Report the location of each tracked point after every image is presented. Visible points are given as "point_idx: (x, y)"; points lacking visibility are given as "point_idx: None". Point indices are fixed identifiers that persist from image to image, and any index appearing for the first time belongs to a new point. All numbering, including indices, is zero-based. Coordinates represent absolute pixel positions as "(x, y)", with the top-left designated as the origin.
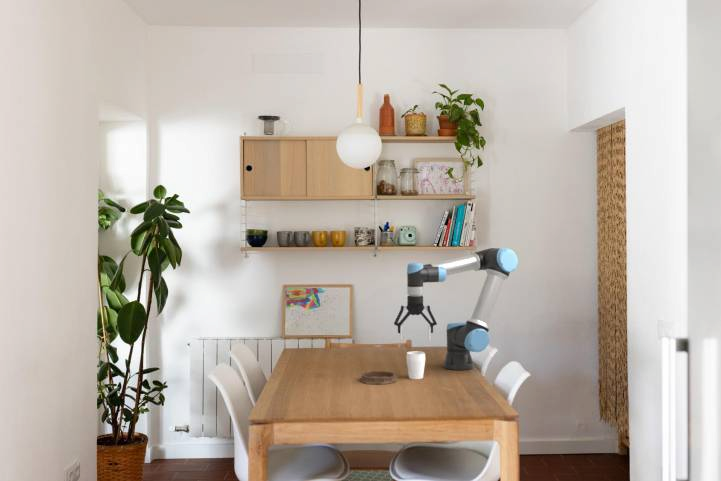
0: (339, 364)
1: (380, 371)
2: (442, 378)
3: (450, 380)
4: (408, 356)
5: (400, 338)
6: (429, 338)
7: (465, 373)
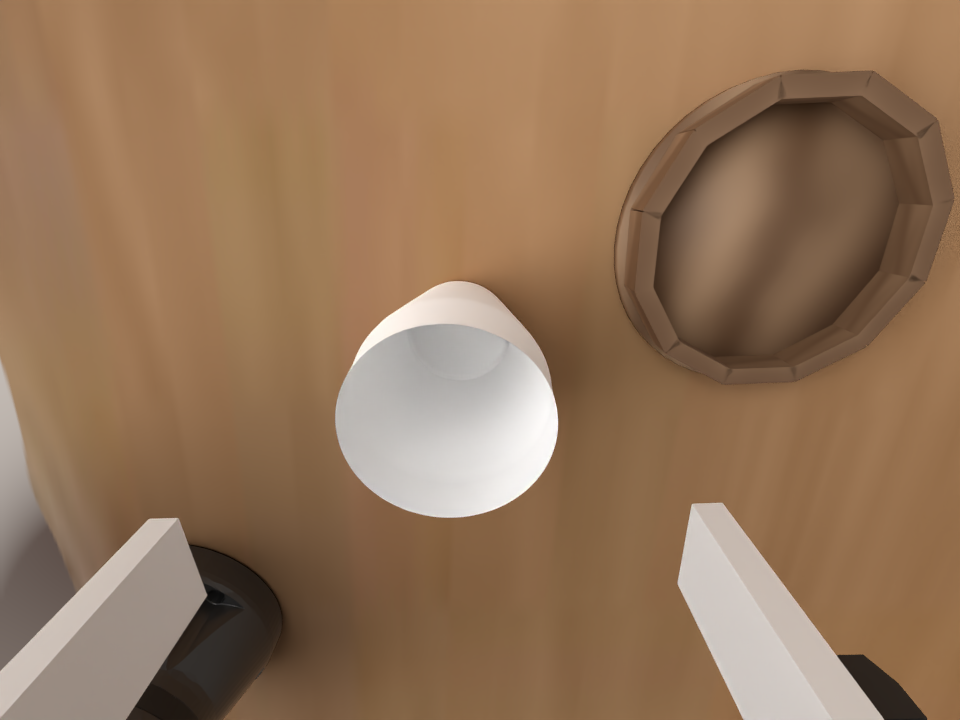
0: None
1: (741, 370)
2: (261, 314)
3: (191, 242)
4: (538, 358)
5: (738, 543)
6: (149, 545)
7: (120, 464)
